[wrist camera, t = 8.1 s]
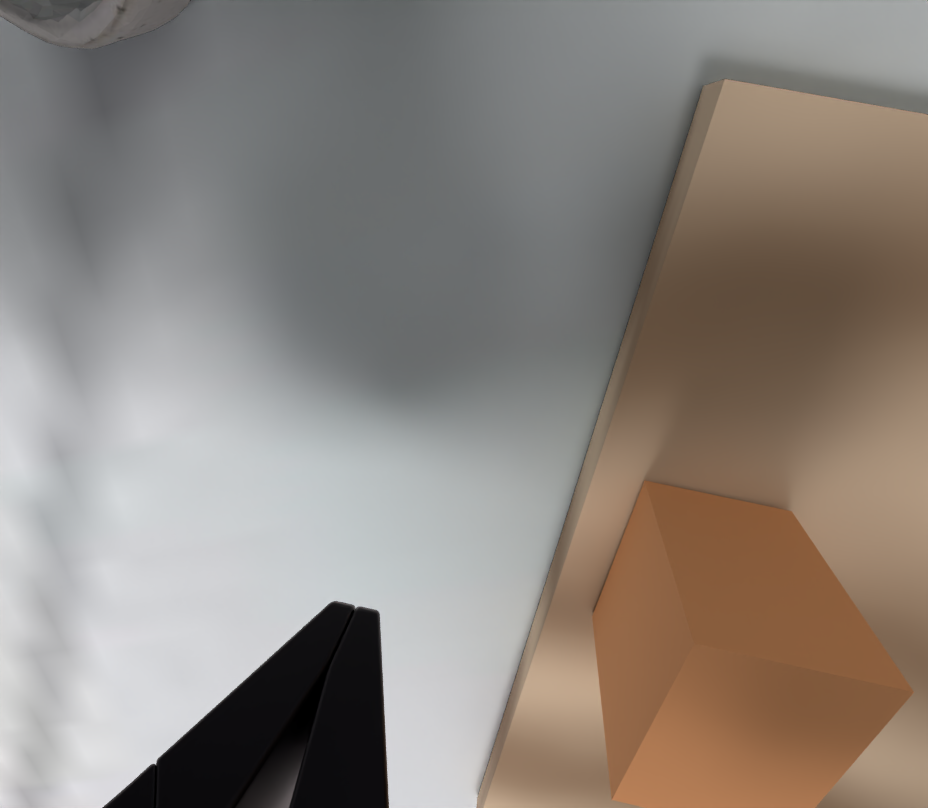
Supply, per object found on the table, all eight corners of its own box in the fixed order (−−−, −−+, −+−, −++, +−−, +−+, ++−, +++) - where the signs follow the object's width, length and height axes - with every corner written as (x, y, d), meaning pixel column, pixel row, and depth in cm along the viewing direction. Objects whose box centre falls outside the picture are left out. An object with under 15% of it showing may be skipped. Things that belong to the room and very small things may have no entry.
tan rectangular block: (717, 643, 13) (786, 840, 9) (592, 616, 13) (612, 799, 9) (791, 511, 11) (914, 692, 7) (644, 480, 11) (693, 643, 7)
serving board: (995, 920, 18) (1024, 969, 17) (477, 797, 19) (473, 836, 18) (1872, 292, 8) (2069, 315, 7) (703, 86, 9) (724, 78, 8)
